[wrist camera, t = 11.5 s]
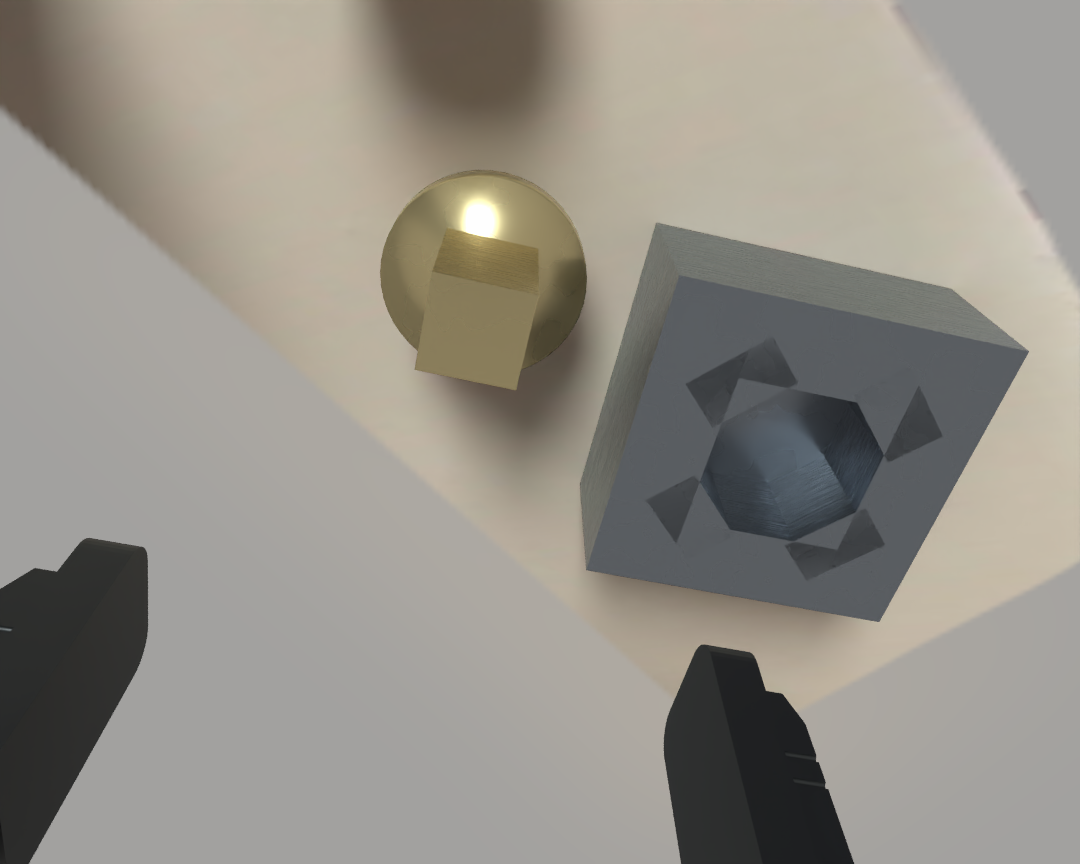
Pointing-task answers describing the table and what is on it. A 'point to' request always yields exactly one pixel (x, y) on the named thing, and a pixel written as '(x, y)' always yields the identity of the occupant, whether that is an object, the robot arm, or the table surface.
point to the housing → (785, 424)
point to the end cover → (483, 276)
